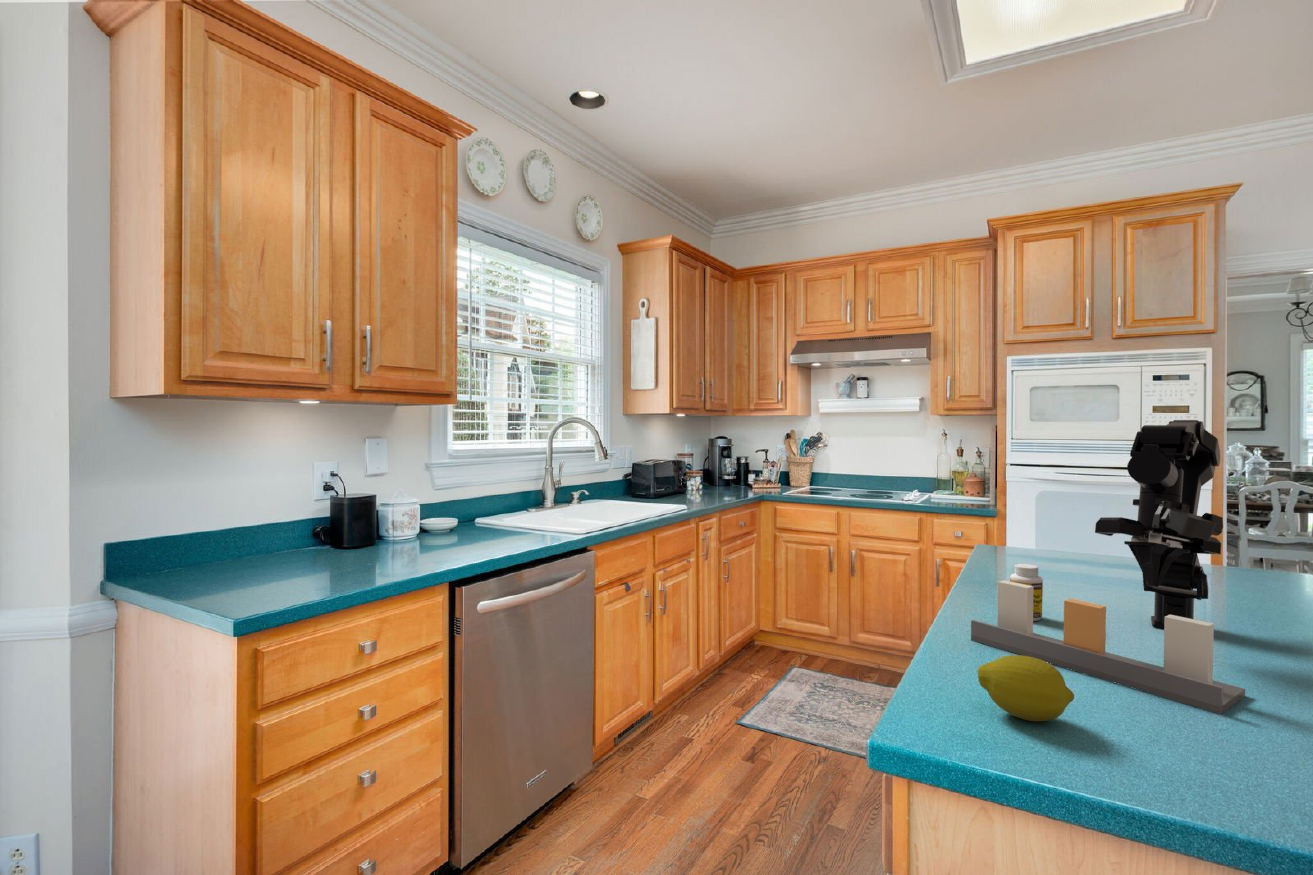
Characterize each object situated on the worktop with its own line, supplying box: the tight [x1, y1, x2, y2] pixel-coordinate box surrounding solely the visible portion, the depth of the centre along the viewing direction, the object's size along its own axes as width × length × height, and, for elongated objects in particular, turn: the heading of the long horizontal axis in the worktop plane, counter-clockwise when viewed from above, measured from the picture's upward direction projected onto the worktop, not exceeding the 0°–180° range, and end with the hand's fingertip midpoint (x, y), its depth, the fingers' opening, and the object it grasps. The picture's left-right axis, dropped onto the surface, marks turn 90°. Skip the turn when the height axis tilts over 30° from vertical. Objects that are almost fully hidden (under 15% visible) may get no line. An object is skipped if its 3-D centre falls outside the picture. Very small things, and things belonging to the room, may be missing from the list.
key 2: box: [1163, 615, 1215, 684], centre depth 90 cm, size 2×5×9 cm, turn 34°
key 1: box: [997, 580, 1034, 636], centre depth 110 cm, size 2×5×9 cm, turn 34°
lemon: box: [977, 654, 1075, 722], centre depth 83 cm, size 11×8×8 cm
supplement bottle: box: [1009, 563, 1044, 622], centre depth 124 cm, size 6×6×10 cm
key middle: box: [1063, 598, 1107, 655], centre depth 99 cm, size 2×5×9 cm, turn 33°
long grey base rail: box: [970, 619, 1246, 715], centre depth 100 cm, size 10×34×4 cm, turn 34°
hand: (1153, 586), depth 107 cm, fingers closed
